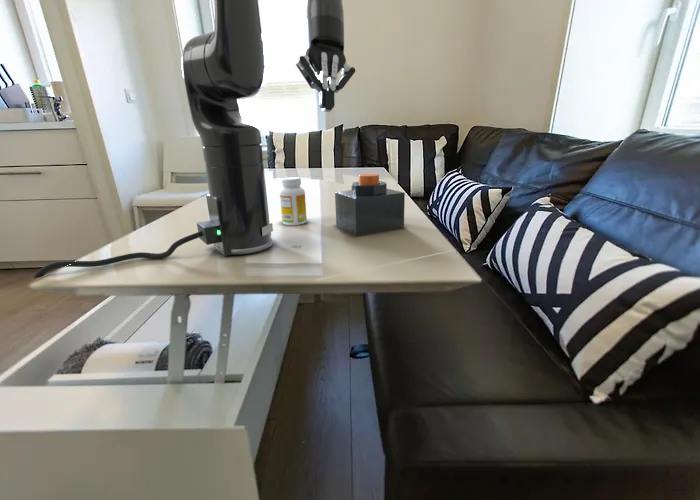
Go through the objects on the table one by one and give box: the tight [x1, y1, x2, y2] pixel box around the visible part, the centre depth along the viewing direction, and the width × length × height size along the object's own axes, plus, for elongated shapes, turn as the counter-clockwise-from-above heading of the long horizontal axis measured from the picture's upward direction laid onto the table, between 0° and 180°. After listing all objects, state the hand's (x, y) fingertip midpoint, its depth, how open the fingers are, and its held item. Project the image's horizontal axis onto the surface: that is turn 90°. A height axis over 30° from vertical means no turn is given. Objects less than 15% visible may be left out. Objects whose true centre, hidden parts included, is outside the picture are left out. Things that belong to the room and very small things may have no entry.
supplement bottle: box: [279, 176, 308, 226], centre depth 78 cm, size 5×5×10 cm
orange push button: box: [358, 173, 380, 185], centre depth 71 cm, size 4×4×2 cm
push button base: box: [334, 180, 406, 237], centre depth 72 cm, size 11×9×9 cm
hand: (327, 110), depth 74 cm, fingers closed
